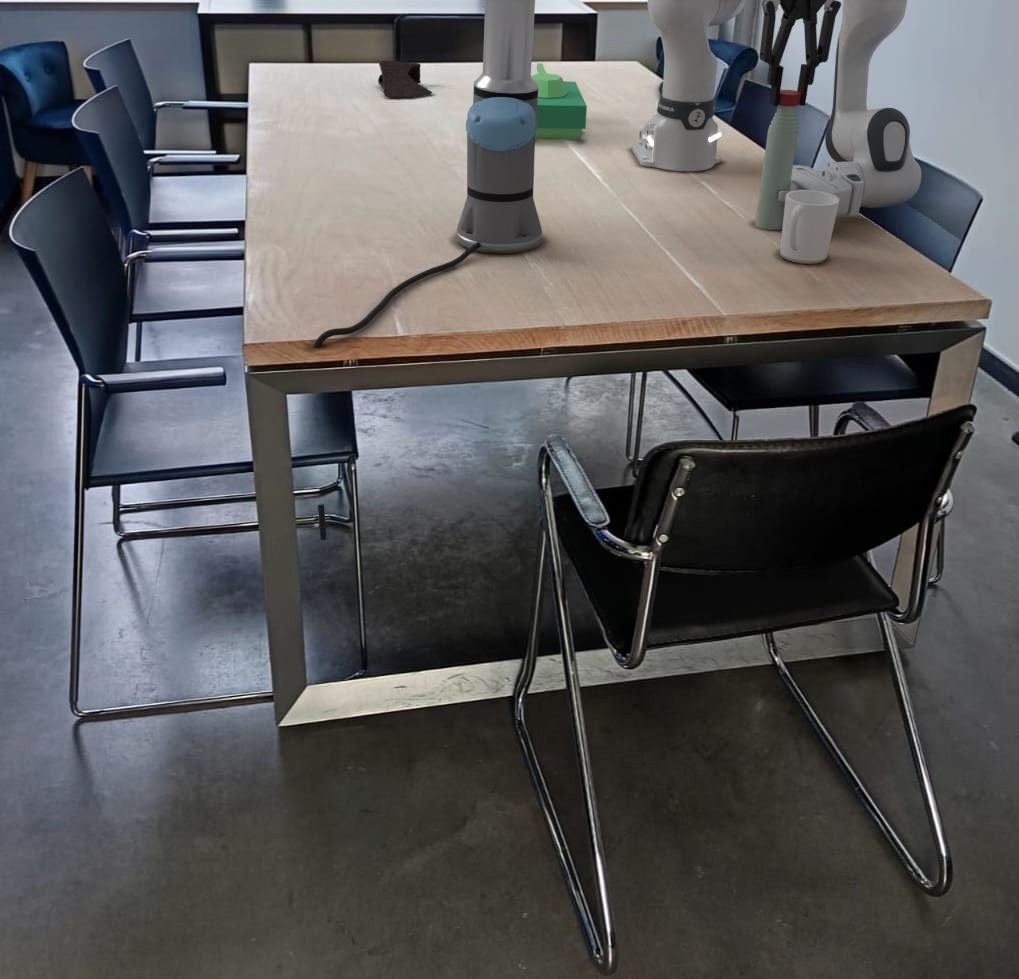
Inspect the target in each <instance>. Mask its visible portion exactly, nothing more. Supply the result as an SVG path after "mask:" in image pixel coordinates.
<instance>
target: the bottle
mask: <svg viewBox="0 0 1019 979" xmlns="http://www.w3.org/2000/svg"><path fill="white" fill-rule="evenodd" d="M796 108H797V106H781V105H778V106H776V112H775V113H774V116H773V117H772V120H771V121H770V124H769V126H768V128H767V135H766V143H765V150H764V156H763V164H762V171H761V178H760V184H759V194H758V200H757V208H756V215H755V221H754V225H755V227H757V228H759V229H762V230H767V231H777V230H778V231H779V230H782V228H783V219H784V209H785V201H780V200H778V199H777V198H776V195H777V191H778V190H782V189H787V190H789V188H790V182H791V175H792V169H793V165H794V162H795V155H796V149H797V142H798V135H799V126H798V122H797V118H796V117H797V114H796Z"/></svg>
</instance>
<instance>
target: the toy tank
mask: <svg viewBox="0 0 1019 979" xmlns="http://www.w3.org/2000/svg"><path fill="white" fill-rule="evenodd" d="M536 70H537V73H534V74H533V75H531V77H532V78H533V80H534V81H535V82H536V83H537V84H538V104H537V131H536V136H535V141H537V140H541V141H545V140H546V141H581V140H582V133H583V130H585V129H586V127H587V124H586V123H587V110H588V109H587V108H588V104H587V103H586V101H585V99H584V97H583V94H582V92H581V90H580V88H579V87H578V86H579V85H578V84H577V82H576V81H569V80H568V81H565V80H563V77H562V76H560V75H558V74H556V73H547V72H546V68H545V67H544V64H543V63H536Z"/></svg>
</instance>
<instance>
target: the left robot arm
mask: <svg viewBox="0 0 1019 979" xmlns="http://www.w3.org/2000/svg"><path fill="white" fill-rule="evenodd" d="M779 5H780V7H781V10H782V11H783V13H782V16H781V19H780V25H779V28H778V31H777V34H776V37H775V40H774V35H775V26H776V17H777V15H776V13H777V11H778V10H779ZM761 6H762V11H763V22H762V30H761V38H760V39H761V40H760V49H759V60H760V61H762V62H764V63H765V64H768V71H767V78H766V83H767V85H769V86H770V91H769V97H768V104H770V105H772V106H773V107H778V103H779V96H780V90H782V89H781V88H782V82H783V75H784V69H785V68H784V66H782V65H780V64H781V62H782V59H783V56H784V53H785V50H786V47H787V46H788V45H787V44H788V41H789V39H790V36H791V32H792V30H793V27H794V26H795V24H796V22H797V21H799V20H802V23H803V30H804V50H805V52H804V53H805V63H801V64H800V69H799V74H798V75H799V76H798V82H797V88H796V91H799V92H801V100H800V104H799V105H798V106H801V107H803V106H805V107H806V102H807V95H808V90H809V86H812V85H813V84H814V81H815V74H816V69H817V68H818V67H819V66H820V64H822V63H826V62H828V60H829V57H830V56H829V55H830V50H831V45H832V39H833V34H834V28H835V23H836V17H837V15H838V13H839V12H840V9H841V6H842V2H841V1H839V0H762V2H761ZM822 8H823V10H824V12H823V16H822V20H821V26H820V32H819V38H818V37H817V36H818V34H817V25H818V13H819V11H820V10H821V9H822ZM535 10H536V0H484V22H483V23H484V24H483V25H484V26H483V27H484V28H483V29H484V30H483V52H482V55H483V56H482V72H481V75H479V77H477V78H476V80H475V81H473V92H472V93H473V94H472V95H473V96H472V97H473V98H472V105H471V106H470V107H469V109H468V111H467V117H466V120H465V121H466V122H465V130H466V192H467V193H466V198H465V202H464V205H463V209H462V211H461V214H460V218H459V220H458V224H457V227H456V241H457V243H458V244H459V245H461V246H462V247H464V248H466V250H465V251H464V252H462V254H461V255H459V256H458V257H456V258H454V259H453V260H451V261H448V262H446V263H443V264H440V265H437V266H434V267H431V268H428V269H426V270H424V271H422V272H420V273H417V274H416V275H414V276H411V277H410V278H407V279H406V280H404V281H403V282H401V283H400V284H398V285H397V286H395V287H393V288H392V289H390V291H389V292H388V293H387V294H386V295H385V296H384V297H383V299H381V301H380V302H379V303H378V304H377V305H376V306H375V307H374V308H373V309H372V310H371V311H370V312H369V313H368V314H367V315H366V316H365V317H364V318H363V319H362V320H361V321H359V322H357V323H356V324H354V325H352V326H348V327H338V328H331V329H328V330H326V331H324V332H323V333H321V334H320V335H319V336H318V338H317V339H316V340H315V342H314V344H313V347H312V348H313V349H319V348H321V347H322V345H323V343H324V342H325V341H326V340H328V339H329V338H331V337H336V336H346V335H347V336H348V335H351V334H354V333H356V332H358V331H360V330H362V329H363V328H365V327H366V326H367V325H368V324H370V323H371V322H372V321H373V320H374V319H375V318H376V317H377V316H378V315H379V313H381V312H382V311H383V310H384V309H385V307H387V305H388V304H389V302H391V300H392V299H393V298H394V297H395V296H396V295H398V294H399V293H400V292H402V291H403V290H404V289H406V288H407V287H409V286H411V285H412V284H415V283H417V282H419V281H421V280H423V279H425V278H426V277H430V276H432V275H434V274H437V273H441V272H443V271H445V270H449V269H451V268H453V267H456V266H457V265H460V264H461V263H462V262H463V261H464V260H466V259H467V258H468V257H469V256H470V255H472V254H473V253H474V252H479V253H486V254H497V255H499V254H500V255H506V254H507V255H508V254H517V253H524V252H527V251H530V250H533V249H536V248H538V247H539V246H540V245H541V244H542V243H543V229H542V224H541V221H540V220H541V219H540V218H539V214H538V213H539V212H538V210H537V206H536V204H535V199H534V184H535V181H534V180H535V157H536V156H535V151H536V140H535V136H536V131H537V104H538V84H537V83H536V82H535V81H534V80H533V78H532V77H531V76H532V62H533V45H534V29H535V28H534V26H535V12H536V11H535ZM317 511H318V523H319V537H320V538H319V539H320V540H321V541H323V542H324V541H327V525H326V513H325V504H317Z"/></svg>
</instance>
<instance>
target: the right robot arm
mask: <svg viewBox="0 0 1019 979" xmlns="http://www.w3.org/2000/svg"><path fill="white" fill-rule="evenodd" d="M746 2H747V0H647V12H648V16H649V18H650V20H651V22H652V23H653V24H654V25H655V26H656V28H657V29H658V31H659V35H660V38H661V43H662V48H663V58H664V59H663V60H664V64H663V67H664V68H663V80H662V81H661V82H660V84H659V86H658V93H659V99H658V102H657V108H656V113H655V114H654V115H653V116H652V118H650V120H649V121H648V122H646V124H644V127H643V129H640V130H639V140H640V141H642V142H639V143H634V144H632V145H631V150H632V152H633V154H634V156H635V158H636V159H637V161H638V163H639V164H640V166H643V167H650V168H657V169H661V170H662V169H663V170H665V171H666V170H667V171H674V172H675V171H676V172H697V171H698V172H699V171H700V172H701V171H705V170H710V169H711V168H713V167H714V166H715V165H717V164H720V163H721V162H722V156H720V155H718V152H717V151H718V138H720V137H722V133H721V132H718V131H719V126H718V123H717V122H716V121H715V120H714V118H713V117H714V116H715V110H716V98H715V90H716V80H717V73H718V59H717V56H716V55H715V53H714V52H713V51H712V50H711V48H710V44H709V36H708V29H709V27H714V26H720V25H722V24H724V23H726V22H729V21H731V20H732V19H734V18H735V17H738V16H739V14H740V13H741V12H742V11H743V9H744V8H745V6H746V5H745V4H746ZM907 3H908V0H842V16H841V24H840V31H839V33H838V38H837V42H836V51H835V64H834V77H833V78H834V79H833V80H834V81H833V95H832V96H833V97H832V98H833V99H832V107H831V108H832V109H831V114H830V117H829V121H828V124H827V127H826V131H825V135H824V136H825V137H824V142H825V148H826V151H827V153H828V155H829V156H830V158H831V160H833V162H828V163H826V164H825V165H824V166H823V167H822V168H821V169H820V170H819V171H818V170H816V169H814V168H812V167H810V166H808V165H803V164H793V169H792V175H791V182H790V188H789V190H787V189H782V190H778V191H777V195H776V198H777V199H778V200H780V201H785V200H786V194H787V193H789V192H792V191H797V190H813V191H821V192H826V193H830V194H832V195H835V196H837V197H838V198H839V199H840V200H839V205H838V210H837V214H836V216H841V215H842V216H843V215H845V216H847V217H857V216H859V214H860V209H861V208H868V209H880V208H889V207H895V206H898V205H899V206H900V205H903V204H904V203H907V202H909V201H910V200H912V199H913V197H914V196H915V195H916V194H917V192H918V191H919V188H920V186H921V182H922V168H921V166H920V164H919V163H918V161H916V159H915V157H914V155H913V152H912V147H911V143H910V137H911V128H910V124H909V121H908V118H907V117H906V115H905V114H904V113H903V112H902V111H900V110H899V109H897V108H894V107H881V108H880V107H879V108H872V109H868V106H867V98H868V85H869V70H870V69H869V68H870V64H871V60H872V57H873V55H874V54H875V52H876V50H877V49H878V48H879V47H880V45H881V44H882V43H883V42H884V41H885V40H886V39H887V38H888V37H890V35H892V34H893V33H894V32H895V31H896V30H897V29H898V27H899V26H900V24H901V23H902V21H903V20H904V18H905V15H906V11H907Z"/></svg>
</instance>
